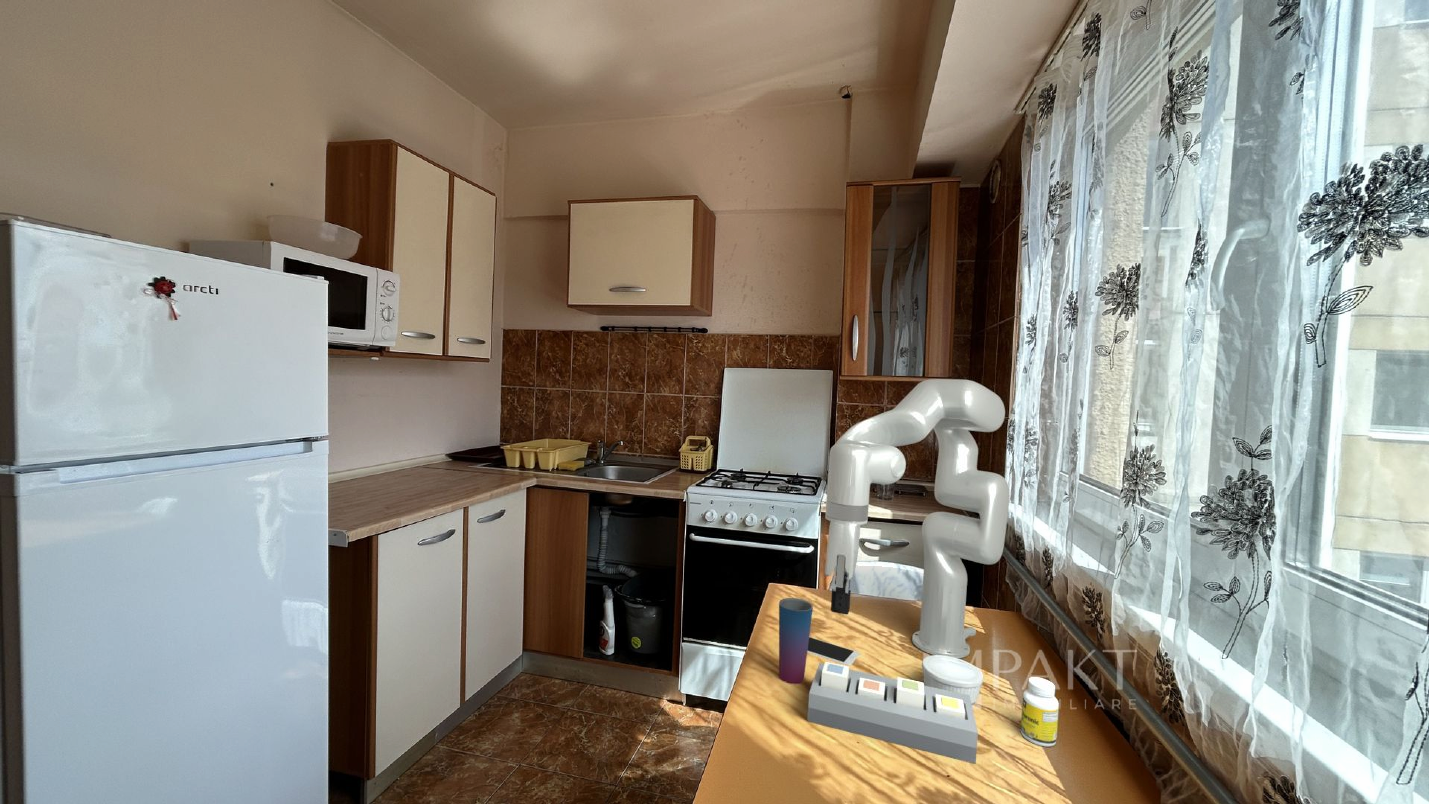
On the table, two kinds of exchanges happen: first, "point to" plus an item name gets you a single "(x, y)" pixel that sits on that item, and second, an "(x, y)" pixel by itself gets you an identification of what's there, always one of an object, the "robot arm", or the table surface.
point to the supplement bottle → (1040, 712)
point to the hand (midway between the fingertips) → (840, 611)
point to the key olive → (910, 693)
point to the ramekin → (952, 675)
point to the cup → (793, 638)
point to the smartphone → (832, 651)
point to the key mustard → (949, 706)
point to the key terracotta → (871, 688)
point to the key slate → (835, 676)
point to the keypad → (895, 717)
